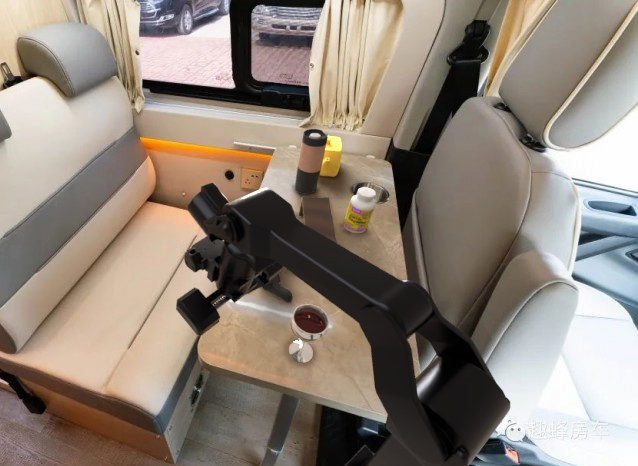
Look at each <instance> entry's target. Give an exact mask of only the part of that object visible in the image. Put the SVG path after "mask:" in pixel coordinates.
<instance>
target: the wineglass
mask: <svg viewBox="0 0 638 466" xmlns="http://www.w3.org/2000/svg"><path fill="white" fill-rule="evenodd" d="M329 326H330V320H329V316H328V314H327V313H326V311H325V310H324V309H322V308H321V307H320V306H318V305H315V304H311V303H303V304H301V305H298V306H297V307H296V308H295V309H294V311H293V312H292V317H291V319H290V329H291V331H292V333H293V335H294V336H295V337H296V338H297V340H295V341H293V342H291V343H290V345H289V346H288V353H289V355H290V357H291V358H292V359H293V360H294V361H296V362H298V363H301V364H302V363H304V364H305V363H308V362H310V361H311V360H312V358H313V356H314V351H313V349H312V346H311V345H310V344H315V343H318V342H320V341H322V340H323V339H324V338H325V336H326V335H327V333H328V328H329Z"/></svg>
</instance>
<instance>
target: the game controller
mask: <svg viewBox="0 0 638 466" xmlns="http://www.w3.org/2000/svg"><path fill="white" fill-rule="evenodd" d="M261 288H262V289H263V290H264V291H267V292H268V293H270V294H272V295H273V296H275V297H277V298H278V299H280V300H282V301H284V302H286V303H291V302H292V300H293V292H292V291H291V289H288V288H287V287H285V286H283V285H282V284H281V275H280V273H279V274H278V275H277V276H275V277H274V278H273V279H272V280H271V281H269V282H268V283H267V284H266V285H264V286H262V287H261Z"/></svg>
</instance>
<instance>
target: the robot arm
mask: <svg viewBox="0 0 638 466" xmlns="http://www.w3.org/2000/svg"><path fill="white" fill-rule="evenodd" d="M187 211H188V213H189V215H190V216H191V217H192V219H193V220H194V221H195V223H196V224H197V225H198V226H199V228H200V229H201V230H202V232H203V233H204V234H205V237H203V238H202V239H199V240H198V241H196V242H194V243H193V244H192V245H191V247H190V248H188V249H187V250H186V252H185V253H184V257H183V260H184V264H185V266H186V267H187V268H188V269H189V270H191V271H192V272H193V273H197V272H199V271H205V272H207V274H206V278H207V279H208V280H209V282H210V283H213V282H214V283H215V287H216V290H215V291H213V292H212V293H210V294H209V295H208V296H206V295H204V293H203V292H202V291H201V290H200V289H199V288H197V287H193V288H191V289H190V290H188V291H187V292H185V293H184V294H183V295H181V296H180V297H178V298H177V299H176V303H175V310H176V312H177V313H178V314H179V315H180V316H181V318H182V319H183V320H184V322H186V324H187V325H188V326H189V327H190V328H191V330H192V331H193V332H194V334H196V335H197V336H203V335H204V334H205V333H207V332H209V331H210V330H211V329H212V328H213V327H215V326H216V325H217V324H218V323H220V319H221V315H220V314H219V311H218V310H219V309H221V307H223V306H224V305H225V304H226V303H228V302H229V301H232V302H233V304H235V303H236V302H238V301H240V300H241V299H242V298H243V297H244V296H246V295H249V294H250V293H253V292H254V291H256V290H258V289H260V288H262V286H264V285H266V284H267V283H268V282H269V281H271V280H272V279H273V278H274V277H275V276H277V275H278V274H279V275H280V273H281V272H282V271H283V268H285V269H286V270H287V271H288V272H290V273H291V274H293V275H294V276H295V277H296V278H298V279H299V280H300V281H302V282H303V283H304V284H305V285H307V286H309V287H310V288H311V289H312V290H314V291H315V292H316V293H318V294H319V295H320V296H322V297H323V298H325V300H328V302H330V303H331V304H333V305H334V306H335V307H337V308H338V309H340V311H342V312H343V313H344V314H346V315H347V316H348V317H350V318H351V319H353V320H354V321H355V322H357V323H358V324H359V327H360V329H361V331H362V333H363V335H364V336H365V339H366V341H367V342H368V344H369V347H370V355H371V363H372V364H371V365H372V374H373V375H372V376H373V384H374V390H375V394H376V396H377V397H378V399H379V401H380V403H381V405H382V407H383V409H384V411H385V412H386V415H387V416H386V420H385V429H386V430H387V431H388V432H389V433H390V434H389V435H388V436H387V438H386V439H385V440H384V442H382V444H381V445H380V446H379V448H378V449H377V451H375V452H373V451H372V450H371V449H370V448H369V447H368V445H366V444H364V445H362V447H360V449H359V450H358V451H357V452H356V453H355V454H354V455H352V457H351V458H350V459H349V460H348V461H347V462H346V463H345V464H344V465H343V466H470V465H471V464H472V462H473V460H474V459H475V458H476V457H477V455H478V454H479V453H480V451H481V450H482V449H483V447H484V446H485V444H486V443H487V442H488V441H489V439H490V438H491V437H492V436H493V434H494V432H495V431H496V430H497V429H498V427H499V426H500V424H501V423H502V421H503V420H504V419H505V418H506V417H507V415H508V413H509V412H510V410H511V400H510V399H509V398H508V397H507V396H506V394H505V392H504V390H503V389H502V388H501V386H499V384H498V383H497V381H496V379H495V378H494V376H493V373H492V372H491V371H490V369H489V368H488V365H487V363H486V361H485V360H484V358H483V356H482V355H481V352H480V350H479V349H478V347H477V346H476V344H475V342H474V341H473V339H472V337H470V336H469V335H467V334H466V333H465V332H463V331H462V330H460V329H459V327H458V326H456V325H454V324H453V323H452V322H450V321H449V320H448V319H447V318H445V317H444V316H443V315H442V313H441V312H440V310H439V308H438V305H437V304H436V302H435V301H434V299H433V297H432V295H431V294H430V293H429V292H428V290H427V289H426V288H424V287H423V286H422V285H420V284H419V283H417V282H415V281H413V280H411V279H399V278H398V277H396V276H394V275H393V274H391V273H389V272H387V271H386V270H384V269H382V268H381V267H379V266H377V265H375V264H373V263H372V262H370V261H368V260H367V259H365V258H363V257H361V256H360V255H358V254H356V253H355V252H353V251H351V250H349V249H348V248H346V247H344V246H343V245H341V244H339V243H338V242H337V243H336V242H334V241H332V240H331V239H329V238H327V237H325V236H324V235H322V234H320V233H318V232H317V231H315V230H313V229H312V228H310V227H308V226H306V225H305V224H304V222H302V221H301V220H300V219H298V218H297V215H296V212H295V210H294V207H293V205H292V203H290V202H288V200H286V199H285V198H283V197H282V196H281V195H280V194H278V193H277V192H275V190H273V189H271V188H268V187H262V188H260V189H257V190H255V191H253V192H250V193H248V194H245V195H244V196H241V197H238V198H236V199H234V200H232V201H230V200H228V198H227V197H226V196H225V195H224V194H223V193H222V191H221V190H220V189H219V187H218V186H217V185H216V184H215V182H213V181H211V182H209V183H206V184H204V185H201V187H200V191H198V193H197V194H195V195H194V197H193V198H192V199H191V200H190V202H189V204H187ZM416 333H417V334H419V335H420V336H421V337H423V338H424V339H425V340H426V341H428V342H429V343H430V345H431V347H432V349H433V350H434V352H435V354H436V356H437V357H436V358H434V359H433V360H432V362H430V363H429V364H428V365H427V366H425V368H424V369H423V370H422V371H421V372H420V373H419V374H418V375H417V376H416V373H415V372H416V371H415V365H414V356H413V350H412V345H411V343H410V342H409V339H410V338H411V337H412V336H413V335H414V334H416Z"/></svg>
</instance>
